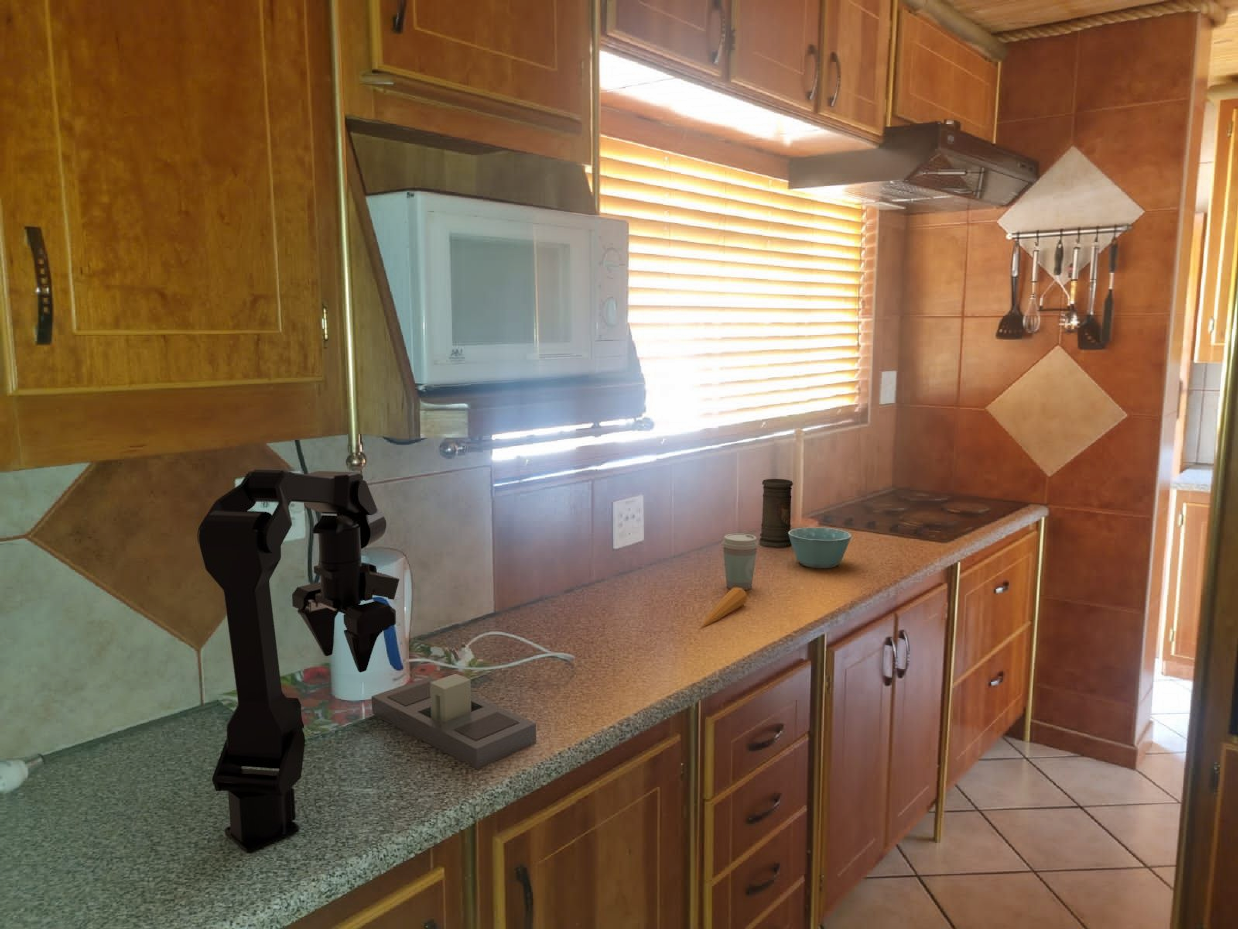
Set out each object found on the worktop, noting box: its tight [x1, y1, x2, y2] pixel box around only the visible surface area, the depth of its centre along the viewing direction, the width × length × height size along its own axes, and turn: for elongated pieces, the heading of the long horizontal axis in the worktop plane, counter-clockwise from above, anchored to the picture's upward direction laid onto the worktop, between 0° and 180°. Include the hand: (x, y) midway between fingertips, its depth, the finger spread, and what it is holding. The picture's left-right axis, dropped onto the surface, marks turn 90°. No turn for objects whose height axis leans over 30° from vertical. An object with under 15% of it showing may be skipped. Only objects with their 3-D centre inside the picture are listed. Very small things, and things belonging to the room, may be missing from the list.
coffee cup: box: [721, 533, 760, 591], centre depth 211 cm, size 8×8×12 cm
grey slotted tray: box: [371, 676, 537, 770], centre depth 137 cm, size 11×26×3 cm, turn 48°
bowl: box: [788, 526, 852, 569], centre depth 232 cm, size 16×16×8 cm
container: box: [758, 478, 794, 548], centre depth 252 cm, size 9×9×18 cm
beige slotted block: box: [430, 673, 472, 724], centre depth 136 cm, size 5×4×8 cm
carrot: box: [700, 587, 747, 629], centre depth 190 cm, size 20×4×4 cm, turn 148°
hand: (345, 663), depth 131 cm, fingers open, 9 cm apart
